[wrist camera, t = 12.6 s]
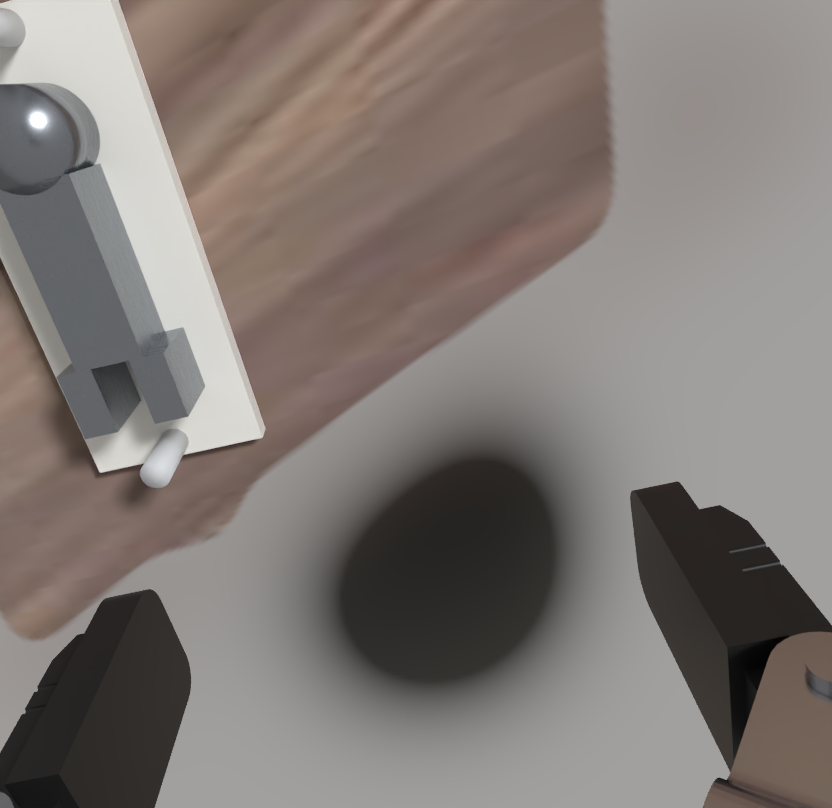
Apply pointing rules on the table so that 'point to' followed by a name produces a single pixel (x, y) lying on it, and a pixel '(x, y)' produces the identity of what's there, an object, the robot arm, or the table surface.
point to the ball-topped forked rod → (87, 264)
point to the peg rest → (131, 228)
